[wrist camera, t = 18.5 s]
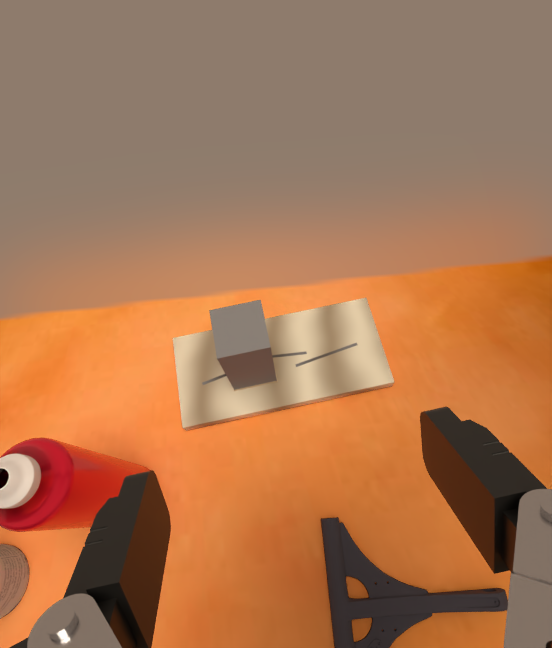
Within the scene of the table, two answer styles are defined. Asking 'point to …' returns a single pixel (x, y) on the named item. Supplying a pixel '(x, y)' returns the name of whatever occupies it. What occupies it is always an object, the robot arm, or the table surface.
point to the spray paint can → (12, 577)
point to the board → (286, 365)
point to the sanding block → (243, 345)
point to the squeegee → (386, 595)
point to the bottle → (57, 485)
